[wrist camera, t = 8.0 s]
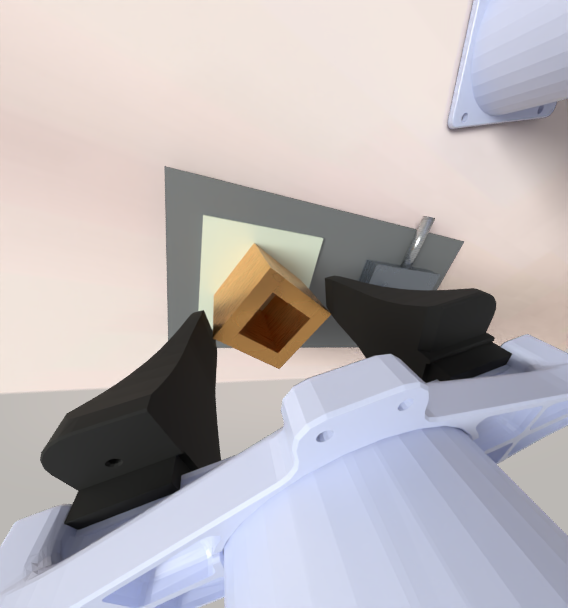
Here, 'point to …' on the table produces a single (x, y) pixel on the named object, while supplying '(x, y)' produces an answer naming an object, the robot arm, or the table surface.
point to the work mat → (274, 245)
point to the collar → (265, 309)
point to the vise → (403, 267)
